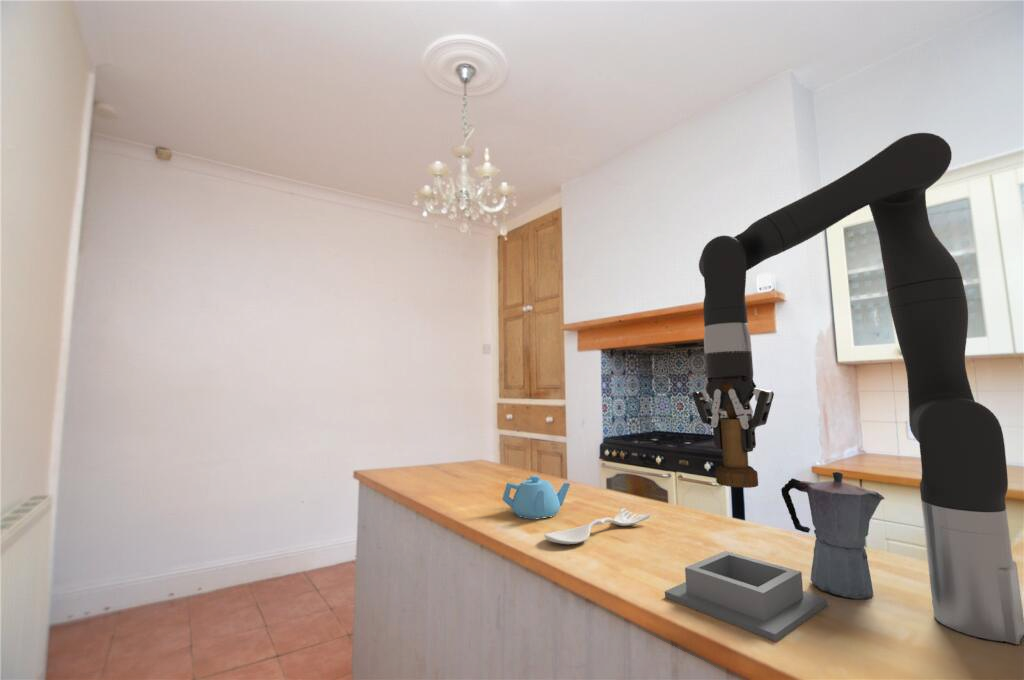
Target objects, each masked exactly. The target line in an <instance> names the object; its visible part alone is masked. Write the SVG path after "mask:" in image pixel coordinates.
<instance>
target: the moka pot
mask: <svg viewBox="0 0 1024 680" xmlns="http://www.w3.org/2000/svg"><path fill="white" fill-rule="evenodd" d="M832 475H833V476H832V477H833V480H830V481H829V480H828V481H817V482H812V481H806V480H799V479H796V478H793V477H792V478H791V479H789V480H788V482H785V484H784V486H783V487H782V488H781V489H780V490H781V491H780V492H781V497H782V498H783V500H784V503H785V506H786V508H787V510H788V514H789V515H790V519H791V521H792V524H793V526H794V529H795V530H797V531H800V532H803V533H808V534H809V533H810V531H811V528H810V527H809V526H804V525H802V524H801V522H800V520H799V518H798V517H797V516H798V515H797V511H796V508H795V505H794V503H793V499H792V496H791V495H790V491H791V490H793V489H795V490H797V491H798V492H803V493H807V497H808V503H809V507H810V509H809V510H810V516H811V521H812V525H813V527H814V529H813V533H814V535H815V540H814V541H815V542H814V547H813V557H812V565H811V571H810V581H811V582H812V584H813V585H815V586H816V587H817V588H818V589H820V590H822V591H824V592H827V593H829V594H832V595H835V596H840V597H844V598H849V599H856V600H859V599H860V600H862V599H863V600H864V599H869V598H871V597H872V596H873V594H874V589H873V583H872V577H871V572H870V567H869V561H868V560H869V559H868V554H867V550H866V549H865V547H866V538H867V536H868V535H869V530H870V521H871V519H872V517H873V515H874V514H875V512H876V510H877V508H878V506H879V505H880V503H881V501H882V500H885V497H884V495H882V494H880V493H879V492H876V491H874V490H870V489H866V488H865V487H863V486H859V485H854V484H852V483H851V484H850V483H847V482H844V481H843V476H844V474H843V473H841V472H839V471H835V472H832Z"/></svg>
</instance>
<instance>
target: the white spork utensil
mask: <svg viewBox="0 0 1024 680" xmlns="http://www.w3.org/2000/svg"><path fill="white" fill-rule="evenodd" d="M650 517H651V514H650V513H647V514H639V515H637V513H635V514H633V513H632V511H630V512H629V510H626V508H625V507H623V508H621V510H620V511H619V512H618V513H617V514H616V515H614V517H613V518H612V517H603V518H597V519H596V518H595V519H593V520H592V521H591V522H588V523H586V524H584V525H581V526H577V527H572V528H568V529H562V530H558V531H557V530H556V531H551V532H547V533H545V534H544V535H543V536H544V538H545V539H546V540H547V541H549V542H552V543H557V544H561V545H569V546H570V544H571V545H576V544H580V543H582V542H584V541H586V540H587V539H588V538H589V537H590V534H591V529H592V528H593V527H594V526H598V525H599V526H600V525H605V523H612V524H614V525H616V526H620V527H621V526H622V527H628V526H632V525H636V524H637V523H640V522H643V521H645V520H648V519H649V518H650Z"/></svg>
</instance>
